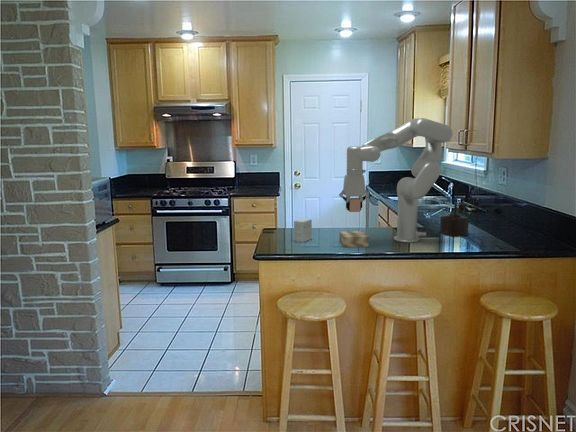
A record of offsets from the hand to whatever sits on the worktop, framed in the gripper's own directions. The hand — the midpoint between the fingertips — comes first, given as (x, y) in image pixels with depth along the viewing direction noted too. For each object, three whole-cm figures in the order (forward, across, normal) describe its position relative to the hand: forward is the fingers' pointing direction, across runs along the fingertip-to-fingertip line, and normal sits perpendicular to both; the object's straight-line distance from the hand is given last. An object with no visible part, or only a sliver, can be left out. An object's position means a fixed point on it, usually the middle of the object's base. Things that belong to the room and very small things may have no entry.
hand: (354, 209), depth 223 cm
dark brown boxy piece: (+18, -57, -12) cm, 61 cm away
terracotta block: (+1, 0, 0) cm, 1 cm away
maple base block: (+17, 0, 0) cm, 17 cm away
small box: (+17, +24, -11) cm, 32 cm away
